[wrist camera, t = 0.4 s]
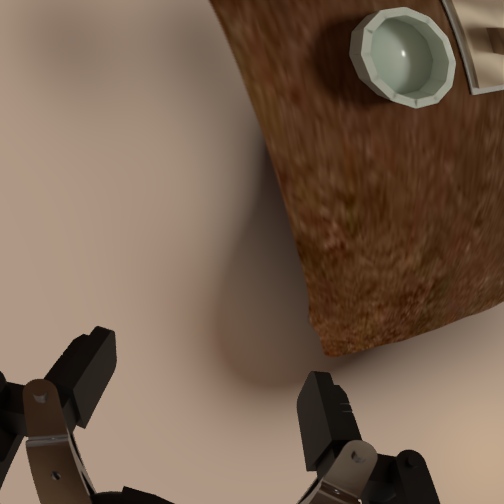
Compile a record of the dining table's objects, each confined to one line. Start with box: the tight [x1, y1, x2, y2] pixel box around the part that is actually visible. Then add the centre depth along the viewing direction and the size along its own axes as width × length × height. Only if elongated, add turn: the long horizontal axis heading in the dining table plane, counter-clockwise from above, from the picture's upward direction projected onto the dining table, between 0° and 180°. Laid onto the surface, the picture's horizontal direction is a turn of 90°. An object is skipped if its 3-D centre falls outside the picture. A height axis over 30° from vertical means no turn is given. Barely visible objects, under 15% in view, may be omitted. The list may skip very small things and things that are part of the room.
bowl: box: [349, 7, 456, 108], centre depth 24 cm, size 12×12×5 cm
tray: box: [442, 0, 504, 95], centre depth 19 cm, size 16×16×1 cm
